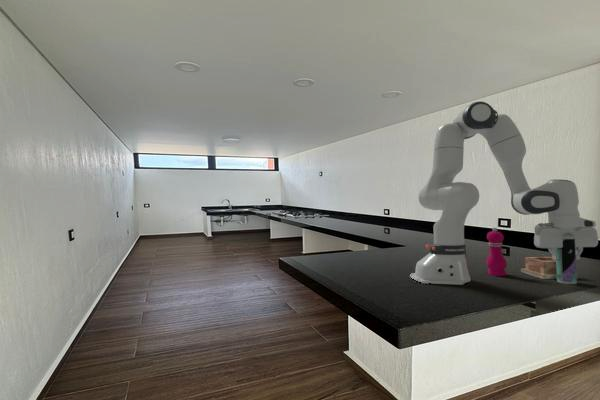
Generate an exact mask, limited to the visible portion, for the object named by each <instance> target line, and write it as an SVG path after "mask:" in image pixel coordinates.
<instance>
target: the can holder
mask: <svg viewBox="0 0 600 400" xmlns="http://www.w3.org/2000/svg"><path fill="white" fill-rule="evenodd" d="M524 260H525V261H524V263H525V267H523V268H520V272H521V273H524V274H527V275H528V276H529V275H530V276H533V277H536V278H540V279H543V280H557V267H556V260H553V259H552V256H530V257H529V256H527V257H524ZM576 274H577V273H576ZM579 277H580V276H579V274H577V280H578V279H579Z"/></svg>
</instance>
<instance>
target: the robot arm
mask: <svg viewBox="0 0 600 400" xmlns="http://www.w3.org/2000/svg"><path fill="white" fill-rule="evenodd" d="M478 134H479V135H481V136H482V137H484V138H483V139H485V140H486V142H487V145H488V146H489V149H490V151H491V154H492V155H493V156H494V159H495V160H496V162H497V164H498V165H499V167H500V168H501V170H502V172H503V174H504V177H505V179H506V180H505V181H506V182H507V185H508V188H509V190H510V194H511V196H510V204H511V207H512V209H513V210H514V211H515V212H516V213H518V214H520V215H523V216H524V215H525V216H526V215H527V216H528V215H541V214H545V213H547V217H548V219H547V222H545V223H544V222H543V223H538V224H536V225H535V226H534V236H533V244H534V246H535V247H536V248H539V249H547V250H548V252H549V254H551V257H552V259H553V260H560V255H557V253H556V251H557V248H562V247H563V242H562V238H563V237H562V235H564V234H567V233H569V234H572V235H573V236H574V237H575V252H576V261H577V260H581V254H582V253H583V251H584V248H596V247H597V246H598V244H599V234H598V231H597V229H596V227H597V223H596V221H595V220H590V219H586V218H583V217H580V216H581V215H580V211H579V208H578V207H579V203H580V202H579V193H578V187H577V184H576V183H575V182H573V181H572V180H568V179H550V180H548V181H547V182H545V183H544V184H542V185H540V186H537V187H535V188H531V187H530V186H529V183H528V181H527V178H526V176H525V173H524V170H523V166H522V165H523V161H524V157H526V153H527V147H526V144H525V140H524V137H523V136H522V134H521V132H520V130H519V128H518V127H517V125H516V123H515V122H514V121H513V119H512V118H511V117H510V116H509V115H508V114H505V113H503V114H501V113H500V114H498V111H497V110H495V109H494V108H493V106H491V105H490V104H489V103H488V102H485V101H476V102H472V103H471V104H469V105H468V106H466V107H465V109H463V110H462V111H461V112H460V113H459V114H458V115H457V116H456V118H455V119H454V120H453V122H452V123H445V124H442V125H441V126H440V127H438V129H437V131H436V134H435V139H434V146H433V160H432V161H433V162H432V169H431V173H430V177H429V179H428V181H427V182H426V184H425V185H424V187H423V188H422V189H421V190H420V191H419V194H418V201H419V204H420V206H421V207H422V208H424V209H427V210H431V211H442V212H441V216H440V218H439V219H438V220H437V221H435V223H434V224H433V226H432V227H433V228H432V229H433V243H432V244H426V245H425V248H426V250H429V253H427V254H426V255H425V256H424V257H422V258H420V259H419V260H418V261H417V262H416V265H415V272H412V273H410V274H409V278H410V277H411V278H412V279H414V280H416V281H418V282H417V283H419V282H421V283H420V284H429V283H431V284H432V285H434V284H435V285H460V286H462V285H465V283H469V282H471V277H470V275H469V274H470V273H469V271H468V270H469V269H468V267H467V266H468V265H467V260H466V258H467V248H466V244H465V224H466V220H467V217H468V215H469V213H470V211H471V210H473V208H474V207H475V206H477V205H478V203H479V200H480V193H479V192H480V191H479V189H478V188H477V186H476V184H474V183H471V182H463V181H457V182H455V181H454V179H455V178H456V176H457V175H459V174H460V173H461V172H462V170H463V168H464V151H465V149H464V147H465V145H464V142H465V140H467V139H470V138H473V137H475V136H476V135H478ZM411 278H410V279H411ZM412 279H411V280H412ZM414 280H413V281H414ZM416 281H415V282H416Z"/></svg>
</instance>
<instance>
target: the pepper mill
mask: <svg viewBox="0 0 600 400" xmlns="http://www.w3.org/2000/svg"><path fill="white" fill-rule="evenodd" d="M504 238H505V237H504V235H503V233H502V232H501V231H498V228H497V227H494V226H493V227H492V231H489V232H487V234H486V240H487V241H488V247H489V255H488V256H487V258H486V266H487V267H488V270H487V272H488V275H490V276H495V277H505V276H506V275H507V271H506V270H505V269H507V266H508V265H507V260H506V259H505V257H504V254H503V250H502V247H503V241H504V240H505V239H504Z"/></svg>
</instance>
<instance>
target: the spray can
mask: <svg viewBox="0 0 600 400" xmlns="http://www.w3.org/2000/svg"><path fill="white" fill-rule="evenodd" d="M562 237H563V238H562V242H563V247H562V248H557V251H555V252H556V253H557V255H560V260H556V267H557V279H556V281H557V282H558V283H560V284H565V285H577V283H578V279H577V260H576V252H575V237H574V236H573V235H572V234H569V233H567V234H564V235H562Z"/></svg>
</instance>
